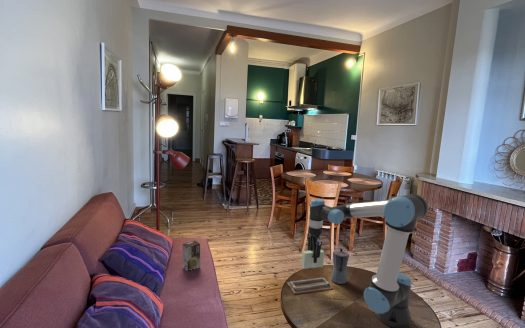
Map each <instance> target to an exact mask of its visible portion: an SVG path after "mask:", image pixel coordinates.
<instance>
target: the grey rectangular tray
mask: <svg viewBox="0 0 525 328" xmlns="http://www.w3.org/2000/svg"><path fill="white" fill-rule="evenodd" d="M286 285H287V286H288V288H290V290H291V291H292V293H293V294H294V295H298V294H306V293H316V292H322V291H330V290H334V287H333V286H332V285H331V283H329V281H328V280H327V279H326V278H325V277H315V278H308V279H300V280H299V279H298V280H291V281H286Z"/></svg>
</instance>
